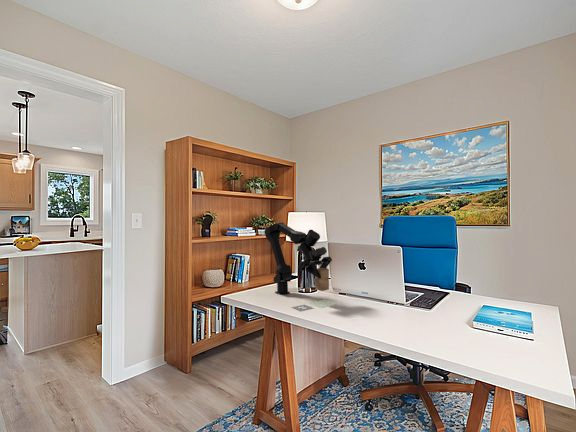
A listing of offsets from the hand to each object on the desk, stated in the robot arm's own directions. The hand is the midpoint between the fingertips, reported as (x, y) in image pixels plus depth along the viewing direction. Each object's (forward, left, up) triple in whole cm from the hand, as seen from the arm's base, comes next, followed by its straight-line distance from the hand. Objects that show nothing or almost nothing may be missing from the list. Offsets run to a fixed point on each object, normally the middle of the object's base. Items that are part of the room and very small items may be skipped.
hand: (324, 277), depth 150 cm
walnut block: (-1, 0, -6) cm, 6 cm away
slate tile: (-1, -12, -13) cm, 18 cm away
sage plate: (-1, 0, -13) cm, 14 cm away
